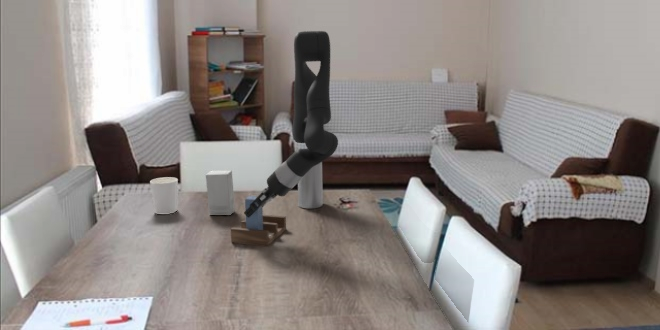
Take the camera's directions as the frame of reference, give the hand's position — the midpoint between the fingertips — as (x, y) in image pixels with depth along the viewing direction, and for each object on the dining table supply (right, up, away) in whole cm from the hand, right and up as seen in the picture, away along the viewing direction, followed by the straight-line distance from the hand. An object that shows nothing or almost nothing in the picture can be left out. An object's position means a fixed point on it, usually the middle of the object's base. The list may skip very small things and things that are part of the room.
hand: (252, 211), depth 184 cm
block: (+1, -7, +2) cm, 8 cm away
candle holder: (-36, -3, +33) cm, 49 cm away
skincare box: (-15, -3, +30) cm, 33 cm away
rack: (+2, -8, +5) cm, 10 cm away
